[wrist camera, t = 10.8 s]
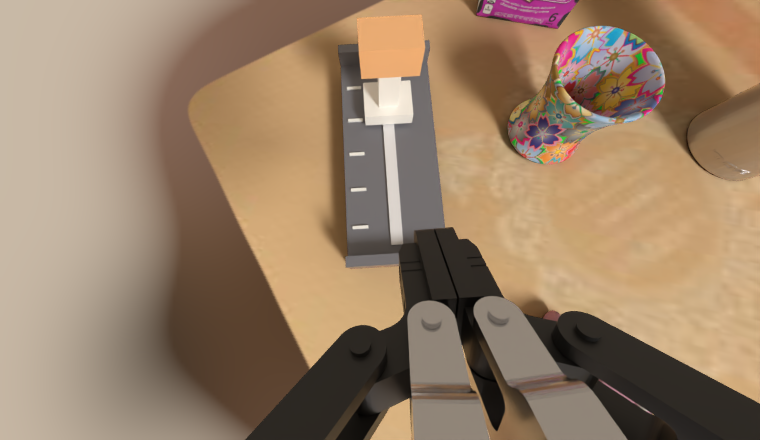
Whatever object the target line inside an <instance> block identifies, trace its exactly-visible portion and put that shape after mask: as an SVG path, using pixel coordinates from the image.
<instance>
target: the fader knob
mask: <svg viewBox="0 0 760 440" xmlns="http://www.w3.org/2000/svg"><path fill="white" fill-rule="evenodd" d="M357 27H358V46H359V59H360V69H361V79H372V78H378V82H370V83H363V92H364V111H365V124H366V125H383V124H401V123H412V119H413V105H412V94H411V83H410V80H407V81H401V77H410V76H420V72H421V67H422V62H423V57H424V52H425V41H424V32H423V23H422V15H405V16H385V17H366V18H357Z"/></svg>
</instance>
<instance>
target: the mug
mask: <svg viewBox="0 0 760 440" xmlns="http://www.w3.org/2000/svg"><path fill="white" fill-rule="evenodd" d="M664 88H665V75H664V70H663V67H662V64H661V62H660V60H659V58H658V56H657V55H656V53H655V52H654V51H653V50H652V48H651V47H650V46H649V45H648V44H647V43H646V42H644V41H643V40H642V39H640V38H639V37H637V36H636V35H634V34H632V33H630V32H628V31H625V30H623V29H619V28H617V27H615V26H611V27H610V26H592V27H587V28H583V29H581V30H578V31H576V32H574V33H573V34H571V35H569V36H568V37H567V38H566V39H565V40H564V41H563V42H562V43H561V44H560V45H559V47H558V49H557V50H556V52H555V55H554V58H553V62H552V67H551V71H550V74H549V76H548V79H547V81H546V83H545V85H544V86H543V88H542V89H541V90H540V92H539V93H538V94H537V95H536V96H535V97H533V98H532V99H529V100H526V101H524V102H522V103H521V104H519V105H518V106H517V107H516V108H515V109H514V110H513V112H512V113H511V115H510V118H509V121H508V135H509V139H510V141H511V143H512V145H513V146H514V148H515V149H516V150H517V151H518V152H519V153H520V154H521V155H522V156H523V157H525V158H527V159H528V160H530V161H533V162H535V163H539V164H555V163H559V162H562V161H564V160H566V159H568V158H569V157H570V156H572V155H573V153H574V152H575V151H576V150H577V148H578V146H579V144H580V142H581V140H582V139H584V138H585V137H586V136H587V135H589V134H591V133H592V132H594V131H596V130H599V129H601V128H604V127H607V126H611V125H615V124H622V123H627V122H631V121H635V120H637V119H640V118H642V117H644V116H645V115H647V114H648V113H650V112H651V111H652V110H653V109H654V108H655V107H656V106H657V104H658V103H659V101H660V100H661V98H662V95H663V93H664Z"/></svg>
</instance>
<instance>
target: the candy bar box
mask: <svg viewBox="0 0 760 440" xmlns="http://www.w3.org/2000/svg"><path fill="white" fill-rule="evenodd" d="M578 1H579V0H479V1H478V7H477V13H476V15H478V16H484V17H490V18H496V19H502V20H508V21H514V22H520V23H527V24H532V25H538V26H544V27H550V28H555V29H558V28H559V26H560V25H561V24H562V22H563V21H564V20H565V18H566V17H567V15H568V14H569V13H570V11H571V10H572V9H573V7H574V6H575V5H576V3H577V2H578Z"/></svg>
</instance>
